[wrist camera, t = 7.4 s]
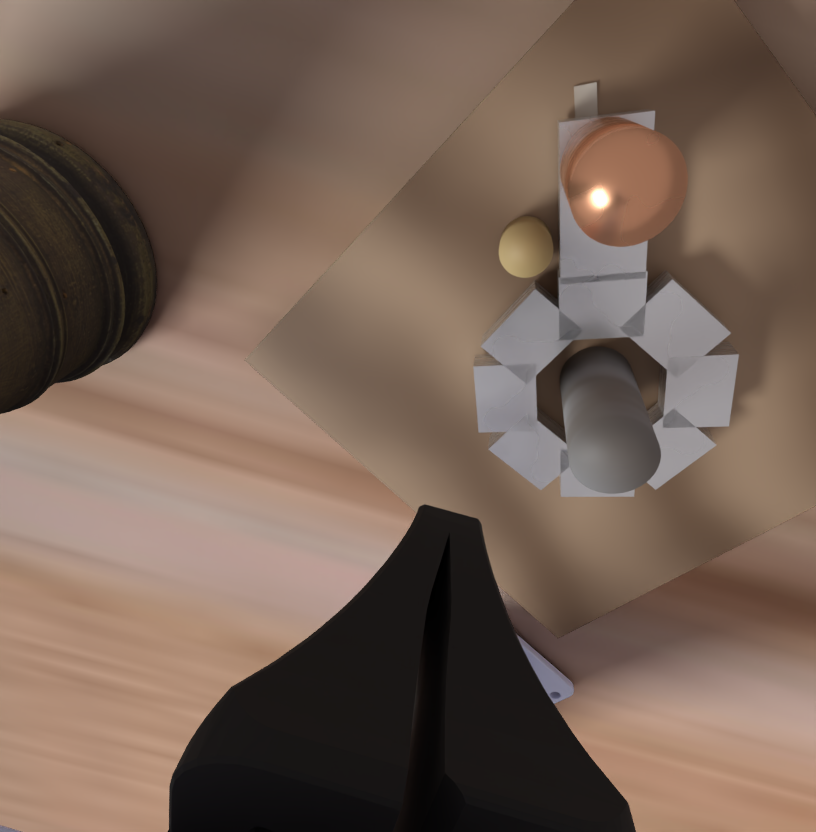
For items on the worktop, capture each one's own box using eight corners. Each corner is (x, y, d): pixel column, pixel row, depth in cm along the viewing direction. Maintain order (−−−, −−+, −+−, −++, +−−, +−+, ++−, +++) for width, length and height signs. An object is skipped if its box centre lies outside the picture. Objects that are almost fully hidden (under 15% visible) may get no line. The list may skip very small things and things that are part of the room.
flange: (711, 479, 22) (758, 582, 17) (485, 481, 23) (476, 575, 19) (761, 94, 16) (851, 101, 12) (458, 132, 18) (435, 151, 13)
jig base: (556, 617, 28) (564, 744, 23) (256, 348, 24) (179, 426, 19) (992, 384, 20) (1164, 497, 15) (655, -87, 16) (722, -170, 10)
